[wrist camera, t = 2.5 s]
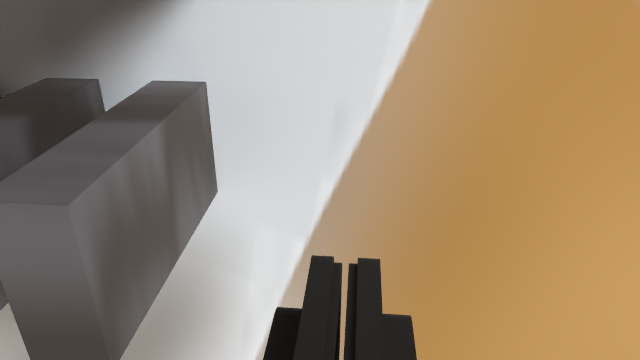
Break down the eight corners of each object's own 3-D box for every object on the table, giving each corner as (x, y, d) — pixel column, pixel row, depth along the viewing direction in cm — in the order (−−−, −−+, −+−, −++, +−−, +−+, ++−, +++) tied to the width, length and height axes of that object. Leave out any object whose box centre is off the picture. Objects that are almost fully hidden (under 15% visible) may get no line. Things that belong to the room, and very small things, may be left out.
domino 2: (152, 80, 19) (-29, 201, 10) (205, 81, 19) (67, 206, 10) (169, 189, 22) (32, 365, 13) (217, 191, 21) (112, 371, 12)
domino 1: (46, 78, 20) (-218, 193, 11) (97, 79, 19) (-127, 197, 11) (74, 185, 22) (-124, 354, 13) (120, 187, 22) (-49, 359, 13)
